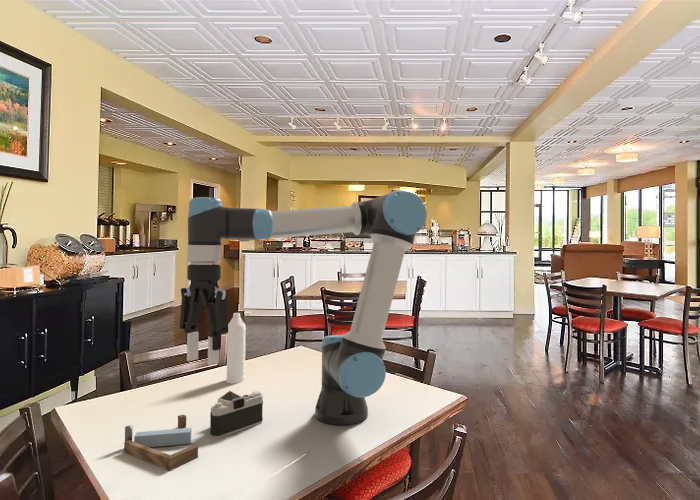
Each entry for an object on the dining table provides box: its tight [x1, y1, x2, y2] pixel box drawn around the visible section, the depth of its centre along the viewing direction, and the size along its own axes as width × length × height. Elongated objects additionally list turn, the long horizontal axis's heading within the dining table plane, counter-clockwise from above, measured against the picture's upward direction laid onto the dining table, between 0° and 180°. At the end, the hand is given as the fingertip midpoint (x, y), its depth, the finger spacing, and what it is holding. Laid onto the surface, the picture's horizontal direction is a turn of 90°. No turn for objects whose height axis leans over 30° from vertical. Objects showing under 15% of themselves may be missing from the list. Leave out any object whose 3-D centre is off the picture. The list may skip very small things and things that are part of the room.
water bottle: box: [226, 311, 252, 384], centre depth 162 cm, size 9×6×25 cm
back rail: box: [123, 440, 171, 471], centre depth 100 cm, size 15×1×2 cm, turn 59°
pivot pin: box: [124, 425, 133, 442], centre depth 106 cm, size 2×2×5 cm
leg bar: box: [133, 427, 192, 448], centre depth 108 cm, size 12×3×3 cm, turn 104°
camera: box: [209, 390, 264, 439], centre depth 120 cm, size 16×9×10 cm, turn 140°
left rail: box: [167, 444, 199, 471], centre depth 99 cm, size 1×7×2 cm, turn 149°
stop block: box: [177, 414, 187, 429], centre depth 119 cm, size 2×1×3 cm
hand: (202, 361), depth 105 cm, fingers open, 6 cm apart
